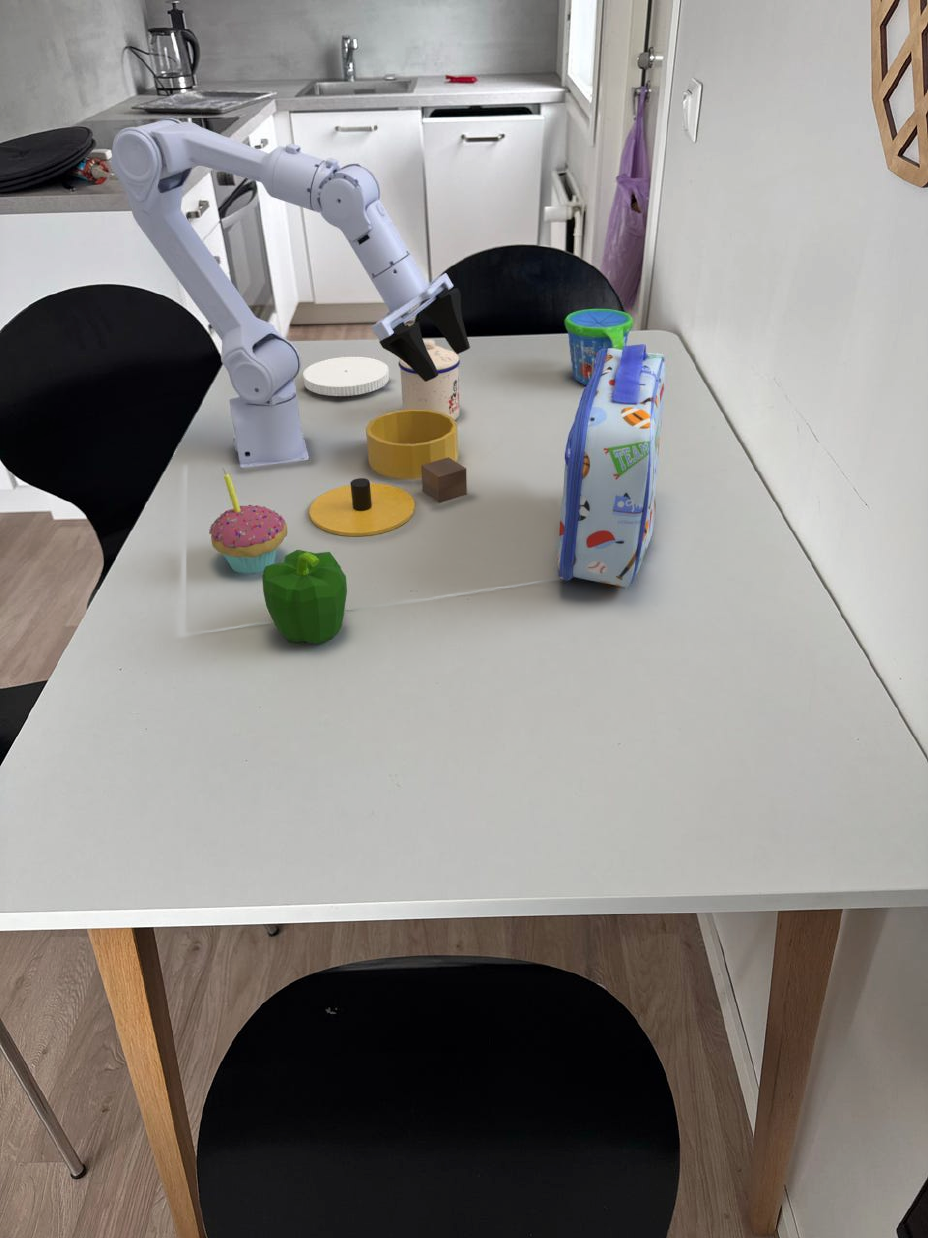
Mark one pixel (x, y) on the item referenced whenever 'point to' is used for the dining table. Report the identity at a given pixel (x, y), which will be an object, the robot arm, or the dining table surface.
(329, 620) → the bell pepper
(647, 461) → the lunch box
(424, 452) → the tin
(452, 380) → the teacup with lid
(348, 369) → the plastic lid
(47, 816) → the dining table surface
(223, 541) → the cupcake
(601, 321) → the snack cup
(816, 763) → the dining table surface
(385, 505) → the tin lid
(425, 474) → the walnut block
